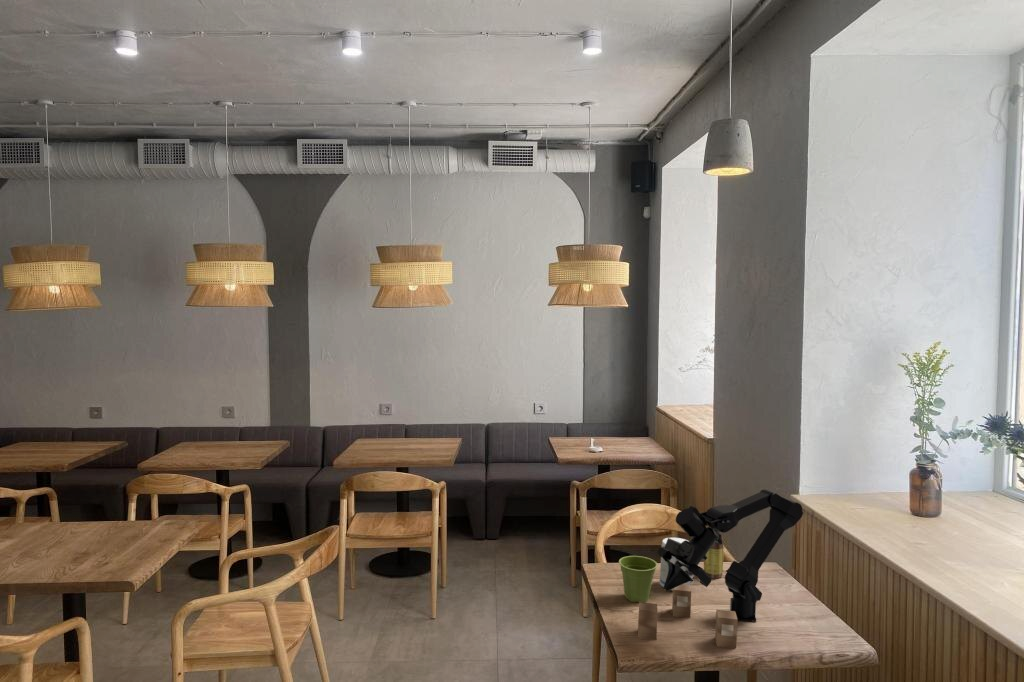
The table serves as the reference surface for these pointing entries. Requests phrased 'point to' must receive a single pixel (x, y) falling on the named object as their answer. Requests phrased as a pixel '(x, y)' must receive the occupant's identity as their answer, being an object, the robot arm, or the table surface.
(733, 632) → the marked block
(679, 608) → the marked block
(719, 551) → the sauce bottle
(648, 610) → the plain block
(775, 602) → the table surface
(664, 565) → the supplement tub
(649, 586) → the plant pot
